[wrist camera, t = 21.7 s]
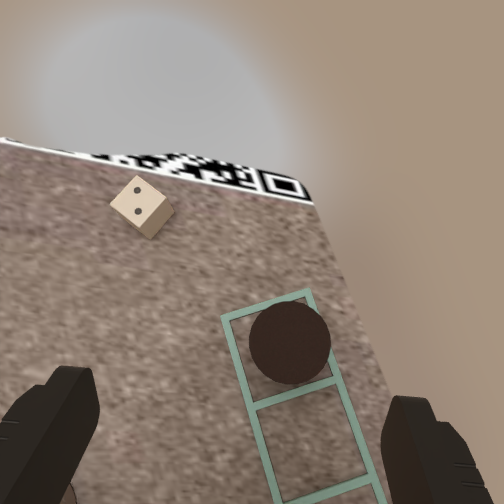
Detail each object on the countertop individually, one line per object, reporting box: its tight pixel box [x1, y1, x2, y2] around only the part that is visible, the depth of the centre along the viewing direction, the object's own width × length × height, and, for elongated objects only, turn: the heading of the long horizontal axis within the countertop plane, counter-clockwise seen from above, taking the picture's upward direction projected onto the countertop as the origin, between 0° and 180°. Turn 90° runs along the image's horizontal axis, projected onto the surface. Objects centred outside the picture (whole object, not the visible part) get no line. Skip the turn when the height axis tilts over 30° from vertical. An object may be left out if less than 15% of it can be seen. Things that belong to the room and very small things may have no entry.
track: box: [220, 287, 387, 504], centre depth 40 cm, size 30×11×1 cm, turn 17°
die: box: [109, 175, 175, 240], centre depth 45 cm, size 4×5×5 cm
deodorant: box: [249, 301, 331, 384], centre depth 35 cm, size 6×6×15 cm
